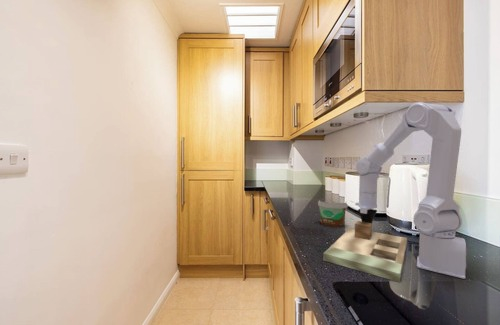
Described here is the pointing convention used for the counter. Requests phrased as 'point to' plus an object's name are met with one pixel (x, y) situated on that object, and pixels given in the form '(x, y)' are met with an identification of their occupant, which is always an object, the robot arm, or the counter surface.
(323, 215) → the food container
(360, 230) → the block
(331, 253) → the board
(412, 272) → the counter surface
